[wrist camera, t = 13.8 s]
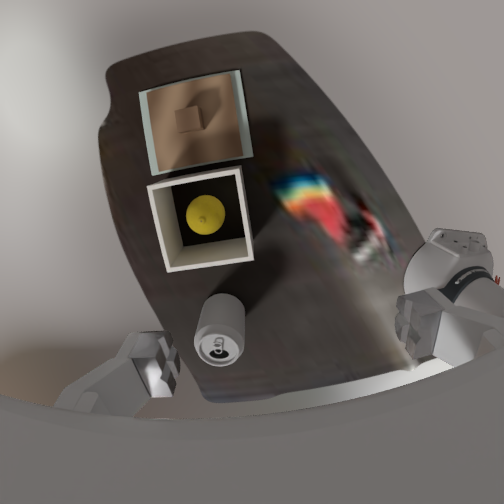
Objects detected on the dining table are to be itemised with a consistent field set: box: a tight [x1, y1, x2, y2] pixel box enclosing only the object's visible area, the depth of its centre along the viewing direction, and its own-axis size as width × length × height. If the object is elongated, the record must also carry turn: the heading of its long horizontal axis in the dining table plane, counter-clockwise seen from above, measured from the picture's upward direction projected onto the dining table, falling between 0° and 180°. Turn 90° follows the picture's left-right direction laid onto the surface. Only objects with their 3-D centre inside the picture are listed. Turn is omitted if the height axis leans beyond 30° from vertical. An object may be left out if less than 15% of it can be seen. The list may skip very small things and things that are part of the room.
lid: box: [146, 74, 243, 172], centre depth 38 cm, size 13×13×5 cm
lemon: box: [186, 195, 225, 235], centre depth 42 cm, size 6×6×8 cm
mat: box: [139, 70, 253, 176], centre depth 41 cm, size 16×14×1 cm
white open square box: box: [147, 165, 254, 272], centre depth 42 cm, size 12×12×9 cm
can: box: [194, 293, 245, 366], centre depth 46 cm, size 8×8×12 cm
